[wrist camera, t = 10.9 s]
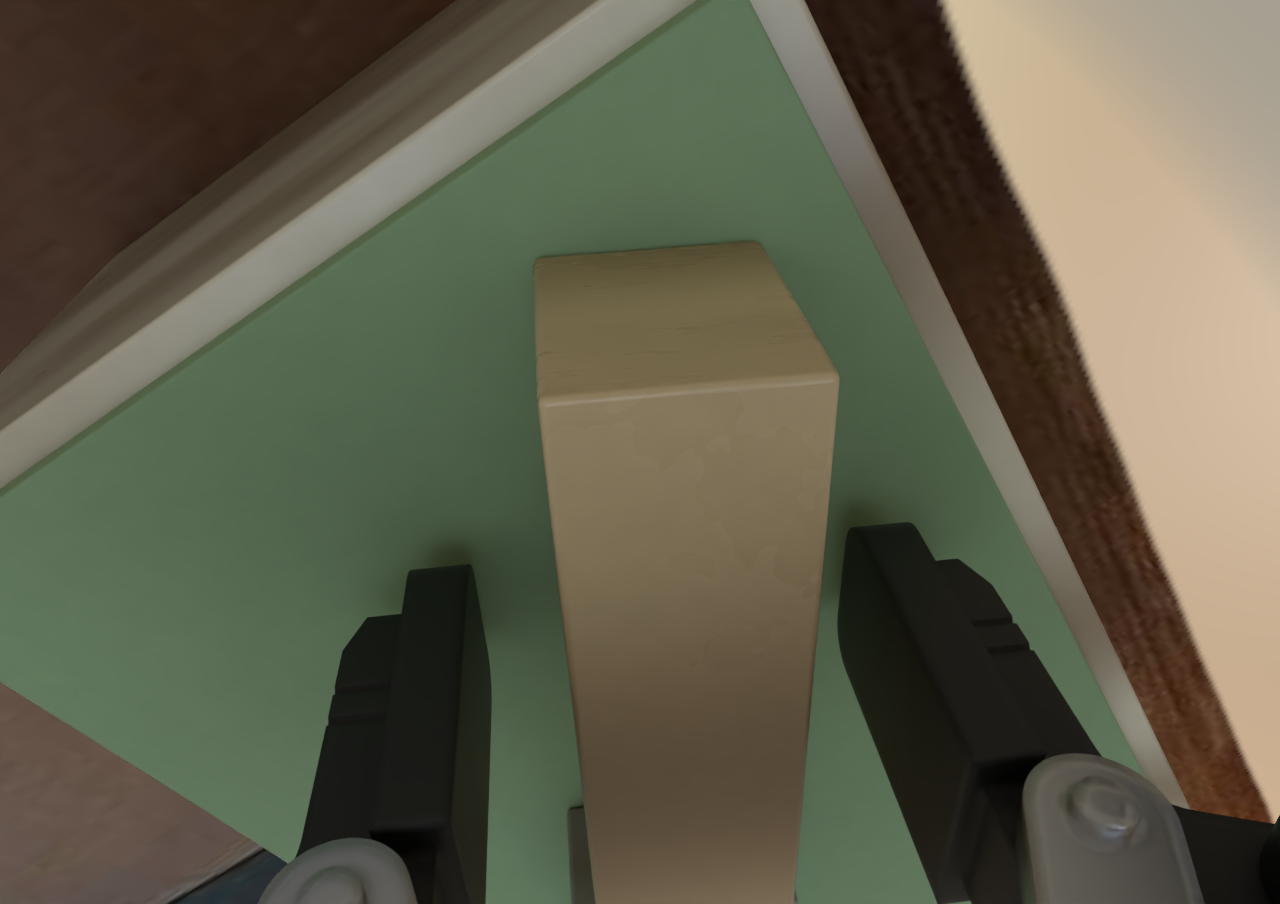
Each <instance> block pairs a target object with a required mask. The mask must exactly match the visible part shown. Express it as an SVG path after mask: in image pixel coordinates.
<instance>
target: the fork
mask: <svg viewBox="0 0 1280 904" xmlns="http://www.w3.org/2000/svg"><path fill="white" fill-rule="evenodd" d="M533 286H534V318H535V350H536V383H537V407H538V416H539V424H540V433H541V442H542V450H543V459H544V467H545V476H546V485H547V493H548V502H549V510H550V519H551V528H552V536H553V545H554V553H555V562H556V571H557V579H558V588H559V596H560V605H561V614H562V622H563V631H564V639H565V648H566V657H567V665H568V674H569V682H570V691H571V700H572V708H573V717H574V725H575V734H576V742H577V751H578V760H579V768H580V777H581V785H582V794H583V803H584V807H581V808H572V809H569V810H568V812H567V832H568V853H569V874H570V894H571V904H798V897H797V893H796V890H795V883H796V871H797V860H798V849H799V837H800V826H801V815H802V803H803V792H804V780H805V769H806V758H807V746H808V735H809V724H810V712H811V701H812V690H813V678H814V667H815V655H816V644H817V633H818V621H819V610H820V599H821V587H822V576H823V564H824V553H825V542H826V530H827V519H828V508H829V496H830V485H831V473H832V462H833V451H834V439H835V428H836V417H837V405H838V394H839V382H840V377H839V374H838V372H837V370H836V368H835V367H834V365H833V363H832V362H831V360H830V358H829V356H828V355H827V353H826V351H825V350H824V348H823V346H822V345H821V343H820V341H819V340H818V338H817V336H816V335H815V333H814V331H813V330H812V328H811V326H810V325H809V323H808V321H807V320H806V318H805V316H804V315H803V313H802V311H801V310H800V308H799V306H798V305H797V303H796V301H795V300H794V298H793V296H792V294H791V293H790V291H789V289H788V288H787V286H786V284H785V283H784V281H783V279H782V278H781V276H780V274H779V273H778V271H777V269H776V268H775V266H774V264H773V263H772V261H771V259H770V258H769V256H768V254H767V253H766V251H765V249H764V248H763V246H762V244H761V243H759V242H756V241H750V242H738V243H725V244H712V245H699V246H686V247H674V248H661V249H648V250H635V251H622V252H610V253H597V254H584V255H571V256H558V257H545V258H539V259H536V260H535V261H534V264H533Z"/></svg>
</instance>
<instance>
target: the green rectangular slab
mask: <svg viewBox="0 0 1280 904" xmlns="http://www.w3.org/2000/svg"><path fill="white" fill-rule="evenodd" d="M750 241H756V242H759V243H761V244H762V246H763V248H764V249H765V251H766V253H767V254H768V256H769V258H770V259H771V261H772V263H773V264H774V266H775V268H776V269H777V271H778V273H779V274H780V276H781V278H782V279H783V281H784V283H785V284H786V286H787V288H788V289H789V291H790V293H791V294H792V296H793V298H794V300H795V301H796V303H797V305H798V306H799V308H800V310H801V311H802V313H803V315H804V316H805V318H806V320H807V321H808V323H809V325H810V326H811V328H812V330H813V331H814V333H815V335H816V336H817V338H818V340H819V341H820V343H821V345H822V346H823V348H824V350H825V351H826V353H827V355H828V356H829V358H830V360H831V362H832V363H833V365H834V367H835V368H836V370H837V372H838V374H839V377H840V382H839V394H838V405H837V417H836V428H835V439H834V451H833V462H832V473H831V485H830V496H829V508H828V519H827V530H826V542H825V553H824V564H823V576H822V587H821V599H820V610H819V621H818V633H817V644H816V655H815V667H814V678H813V690H812V701H811V712H810V724H809V735H808V746H807V758H806V769H805V780H804V792H803V803H802V815H801V826H800V837H799V849H798V860H797V871H796V883H795V890H796V893H797V897H798V904H937V901H936V899H935V896H934V894H933V891H932V889H931V886H930V884H929V881H928V879H927V876H926V873H925V871H924V868H923V866H922V863H921V861H920V858H919V856H918V853H917V851H916V848H915V845H914V843H913V840H912V838H911V835H910V833H909V830H908V828H907V825H906V823H905V820H904V817H903V815H902V812H901V810H900V807H899V805H898V802H897V800H896V797H895V795H894V792H893V789H892V787H891V784H890V782H889V779H888V777H887V774H886V772H885V769H884V767H883V764H882V761H881V759H880V756H879V754H878V751H877V749H876V746H875V744H874V741H873V739H872V736H871V733H870V731H869V728H868V726H867V723H866V721H865V718H864V716H863V713H862V711H861V708H860V705H859V703H858V700H857V698H856V695H855V693H854V690H853V688H852V685H851V683H850V680H849V678H848V675H847V672H846V670H845V667H844V664H843V661H842V657H841V652H840V647H839V640H838V629H837V618H838V607H839V598H840V588H841V579H842V569H843V560H844V550H845V541H846V536H847V533H848V531H849V529H850V528H852V527H861V526H871V525H881V524H891V523H902V522H911V523H912V524H914V526H915V527H916V528H917V529H918V531H919V533H920V534H921V536H922V538H923V540H924V541H925V543H926V545H927V547H928V548H929V550H930V552H931V554H932V555H933V557H934V559H935V560H936V561H937V560H947V559H957V558H958V559H960V560H961V561H962V562H963V563H965V564H966V565H967V566H969V567H970V568H971V569H973V570H974V571H975V572H976V573H978V574H979V575H980V576H982V577H983V578H984V579H986V580H987V581H988V582H989V583H991V584H992V585H993V587H994V588H995V590H996V591H997V593H998V594H999V596H1000V598H1001V599H1002V601H1003V602H1004V604H1005V606H1006V607H1007V609H1008V610H1009V612H1010V613H1011V615H1012V617H1013V623H1017V624H1018V626H1019V628H1020V629H1021V631H1022V632H1023V634H1024V635H1025V637H1026V639H1027V640H1028V642H1029V647H1030V650H1034V651H1035V653H1036V654H1037V656H1038V657H1039V659H1040V661H1041V662H1042V664H1043V665H1044V667H1045V669H1046V670H1047V672H1048V673H1049V675H1050V676H1051V678H1052V680H1053V681H1054V683H1055V684H1056V686H1057V687H1058V689H1059V691H1060V692H1061V694H1062V695H1063V697H1064V698H1065V700H1066V702H1067V703H1068V705H1069V706H1070V708H1071V709H1072V711H1073V713H1074V714H1075V716H1076V717H1077V719H1078V720H1079V722H1080V724H1081V725H1082V727H1083V728H1084V730H1085V732H1086V733H1087V735H1088V736H1089V738H1090V739H1091V741H1092V743H1093V744H1094V746H1095V747H1096V749H1097V750H1098V752H1099V753H1100V754H1101V756H1102V757H1104V758H1107V759H1110V760H1113V761H1116V762H1118V763H1120V764H1122V765H1125V766H1127V767H1129V768H1130V769H1132V770H1134V771H1135V772H1137V773H1139V774H1140V775H1142V776H1143V777H1144V778H1146V777H1145V775H1144V773H1143V771H1142V769H1141V768H1140V766H1139V764H1138V762H1137V760H1136V758H1135V756H1134V754H1133V752H1132V750H1131V748H1130V746H1129V744H1128V742H1127V740H1126V738H1125V736H1124V734H1123V732H1122V730H1121V728H1120V726H1119V724H1118V722H1117V720H1116V718H1115V716H1114V715H1113V713H1112V711H1111V709H1110V707H1109V705H1108V703H1107V701H1106V699H1105V697H1104V695H1103V693H1102V691H1101V689H1100V687H1099V685H1098V683H1097V681H1096V679H1095V677H1094V675H1093V673H1092V671H1091V669H1090V667H1089V665H1088V663H1087V661H1086V660H1085V658H1084V656H1083V654H1082V652H1081V650H1080V648H1079V646H1078V644H1077V642H1076V640H1075V638H1074V636H1073V634H1072V632H1071V630H1070V628H1069V626H1068V624H1067V622H1066V620H1065V618H1064V616H1063V614H1062V612H1061V610H1060V608H1059V607H1058V605H1057V603H1056V601H1055V599H1054V597H1053V595H1052V593H1051V591H1050V589H1049V587H1048V585H1047V583H1046V581H1045V579H1044V577H1043V575H1042V573H1041V571H1040V569H1039V567H1038V565H1037V563H1036V561H1035V559H1034V557H1033V555H1032V554H1031V552H1030V550H1029V548H1028V546H1027V544H1026V542H1025V540H1024V538H1023V536H1022V534H1021V532H1020V530H1019V528H1018V526H1017V524H1016V522H1015V520H1014V518H1013V516H1012V514H1011V512H1010V510H1009V508H1008V506H1007V504H1006V502H1005V501H1004V499H1003V497H1002V495H1001V493H1000V491H999V489H998V487H997V485H996V483H995V481H994V479H993V477H992V475H991V473H990V471H989V469H988V467H987V465H986V463H985V461H984V459H983V457H982V455H981V453H980V451H979V449H978V447H977V446H976V444H975V442H974V440H973V438H972V436H971V434H970V432H969V430H968V428H967V426H966V424H965V422H964V420H963V418H962V416H961V414H960V412H959V410H958V408H957V406H956V404H955V402H954V400H953V398H952V396H951V394H950V393H949V391H948V389H947V387H946V385H945V383H944V381H943V379H942V377H941V375H940V373H939V371H938V369H937V367H936V365H935V363H934V361H933V359H932V357H931V355H930V353H929V351H928V349H927V347H926V345H925V343H924V341H923V340H922V338H921V336H920V334H919V332H918V330H917V328H916V326H915V324H914V322H913V320H912V318H911V316H910V314H909V312H908V310H907V308H906V306H905V304H904V302H903V300H902V298H901V296H900V294H899V292H898V290H897V288H896V287H895V285H894V283H893V281H892V279H891V277H890V275H889V273H888V271H887V269H886V267H885V265H884V263H883V261H882V259H881V257H880V255H879V253H878V251H877V249H876V247H875V245H874V243H873V241H872V239H871V237H870V235H869V233H868V232H867V230H866V228H865V226H864V224H863V222H862V220H861V218H860V216H859V214H858V212H857V210H856V208H855V206H854V204H853V202H852V200H851V198H850V196H849V194H848V192H847V190H846V188H845V186H844V184H843V182H842V180H841V179H840V177H839V175H838V173H837V171H836V169H835V167H834V165H833V163H832V161H831V159H830V157H829V155H828V153H827V151H826V149H825V147H824V145H823V143H822V141H821V139H820V137H819V135H818V133H817V131H816V129H815V127H814V126H813V124H812V122H811V120H810V118H809V116H808V114H807V112H806V110H805V108H804V106H803V104H802V102H801V100H800V98H799V96H798V94H797V92H796V90H795V88H794V86H793V84H792V82H791V80H790V78H789V76H788V74H787V72H786V71H785V69H784V67H783V65H782V63H781V61H780V59H779V57H778V55H777V53H776V51H775V49H774V47H773V45H772V43H771V41H770V39H769V37H768V35H767V33H766V31H765V29H764V27H763V25H762V23H761V21H760V19H759V18H758V16H757V14H756V12H755V10H754V8H753V6H752V4H751V2H750V0H697V1H695V2H694V3H692V4H691V5H689V6H688V7H687V8H685V9H684V10H682V11H681V12H679V13H678V14H677V15H675V16H674V17H672V18H671V19H669V20H668V21H667V22H665V23H664V24H662V25H661V26H660V27H658V28H657V29H655V30H654V31H652V32H651V33H650V34H648V35H647V36H645V37H644V38H642V39H641V40H640V41H638V42H637V43H635V44H634V45H632V46H631V47H630V48H628V49H627V50H625V51H624V52H622V53H621V54H620V55H618V56H617V57H615V58H614V59H612V60H611V61H610V62H608V63H607V64H605V65H604V66H602V67H601V68H600V69H598V70H597V71H595V72H594V73H592V74H591V75H590V76H588V77H587V78H585V79H584V80H583V81H581V82H580V83H578V84H577V85H575V86H574V87H573V88H571V89H570V90H568V91H567V92H565V93H564V94H563V95H561V96H560V97H558V98H557V99H555V100H554V101H553V102H551V103H550V104H548V105H547V106H545V107H544V108H543V109H541V110H540V111H538V112H537V113H535V114H534V115H533V116H531V117H530V118H528V119H527V120H525V121H524V122H523V123H521V124H520V125H518V126H517V127H516V128H514V129H513V130H511V131H510V132H508V133H507V134H506V135H504V136H503V137H501V138H500V139H498V140H497V141H496V142H494V143H493V144H491V145H490V146H488V147H487V148H486V149H484V150H483V151H481V152H480V153H478V154H477V155H476V156H474V157H473V158H471V159H470V160H468V161H467V162H466V163H464V164H463V165H461V166H460V167H458V168H457V169H456V170H454V171H453V172H451V173H450V174H449V175H447V176H446V177H444V178H443V179H441V180H440V181H439V182H437V183H436V184H434V185H433V186H431V187H430V188H429V189H427V190H426V191H424V192H423V193H421V194H420V195H419V196H417V197H416V198H414V199H413V200H411V201H410V202H409V203H407V204H406V205H404V206H403V207H401V208H400V209H399V210H397V211H396V212H394V213H393V214H391V215H390V216H389V217H387V218H386V219H384V220H383V221H382V222H380V223H379V224H377V225H376V226H374V227H373V228H372V229H370V230H369V231H367V232H366V233H364V234H363V235H362V236H360V237H359V238H357V239H356V240H354V241H353V242H352V243H350V244H349V245H347V246H346V247H344V248H343V249H342V250H340V251H339V252H337V253H336V254H334V255H333V256H332V257H330V258H329V259H327V260H326V261H324V262H323V263H322V264H320V265H319V266H317V267H316V268H314V269H313V270H312V271H310V272H309V273H307V274H306V275H305V276H303V277H302V278H300V279H299V280H297V281H296V282H295V283H293V284H292V285H290V286H289V287H287V288H286V289H285V290H283V291H282V292H280V293H279V294H277V295H276V296H275V297H273V298H272V299H270V300H269V301H267V302H266V303H265V304H263V305H262V306H260V307H259V308H257V309H256V310H255V311H253V312H252V313H250V314H249V315H247V316H246V317H245V318H243V319H242V320H240V321H239V322H238V323H236V324H235V325H233V326H232V327H230V328H229V329H228V330H226V331H225V332H223V333H222V334H220V335H219V336H218V337H216V338H215V339H213V340H212V341H210V342H209V343H208V344H206V345H205V346H203V347H202V348H200V349H199V350H198V351H196V352H195V353H193V354H192V355H190V356H189V357H188V358H186V359H185V360H183V361H182V362H180V363H179V364H178V365H176V366H175V367H173V368H172V369H171V370H169V371H168V372H166V373H165V374H163V375H162V376H161V377H159V378H158V379H156V380H155V381H153V382H152V383H151V384H149V385H148V386H146V387H145V388H143V389H142V390H141V391H139V392H138V393H136V394H135V395H133V396H132V397H131V398H129V399H128V400H126V401H125V402H123V403H122V404H121V405H119V406H118V407H116V408H115V409H113V410H112V411H111V412H109V413H108V414H106V415H105V416H104V417H102V418H101V419H99V420H98V421H96V422H95V423H94V424H92V425H91V426H89V427H88V428H86V429H85V430H84V431H82V432H81V433H79V434H78V435H76V436H75V437H74V438H72V439H71V440H69V441H68V442H66V443H65V444H64V445H62V446H61V447H59V448H58V449H56V450H55V451H54V452H52V453H51V454H49V455H48V456H46V457H45V458H44V459H42V460H41V461H39V462H38V463H37V464H35V465H34V466H32V467H31V468H29V469H28V470H27V471H25V472H24V473H22V474H21V475H19V476H18V477H17V478H15V479H14V480H12V481H11V482H9V483H8V484H7V485H5V486H4V487H2V488H1V489H0V682H2V683H4V684H5V685H7V686H8V687H10V688H12V689H13V690H15V691H16V692H18V693H19V694H21V695H23V696H24V697H26V698H27V699H29V700H31V701H32V702H34V703H35V704H37V705H39V706H40V707H42V708H43V709H45V710H46V711H48V712H50V713H51V714H53V715H54V716H56V717H58V718H59V719H61V720H62V721H64V722H66V723H67V724H69V725H70V726H72V727H74V728H75V729H77V730H78V731H80V732H81V733H83V734H85V735H86V736H88V737H89V738H91V739H93V740H94V741H96V742H97V743H99V744H101V745H102V746H104V747H105V748H107V749H108V750H110V751H112V752H113V753H115V754H116V755H118V756H120V757H121V758H123V759H124V760H126V761H128V762H129V763H131V764H132V765H134V766H135V767H137V768H139V769H140V770H142V771H143V772H145V773H147V774H148V775H150V776H151V777H153V778H155V779H156V780H158V781H159V782H161V783H162V784H164V785H166V786H167V787H169V788H170V789H172V790H174V791H175V792H177V793H178V794H180V795H182V796H183V797H185V798H186V799H188V800H189V801H191V802H193V803H194V804H196V805H197V806H199V807H201V808H202V809H204V810H205V811H207V812H209V813H210V814H212V815H213V816H215V817H216V818H218V819H220V820H221V821H223V822H224V823H226V824H228V825H229V826H231V827H232V828H234V829H236V830H237V831H239V832H240V833H242V834H244V835H245V836H247V837H248V838H250V839H251V840H253V841H255V842H256V843H258V844H259V845H261V846H263V847H264V848H266V849H267V850H269V851H271V852H272V853H274V854H275V855H277V856H278V857H280V858H282V859H283V860H285V861H286V862H288V863H290V862H291V861H292V860H293V859H295V857H296V854H297V852H298V849H299V846H300V842H301V839H302V834H303V830H304V825H305V820H306V816H307V811H308V807H309V802H310V797H311V793H312V788H313V784H314V779H315V775H316V770H317V765H318V761H319V756H320V752H321V747H322V742H323V738H324V733H325V729H326V726H328V715H329V710H330V706H331V701H332V696H333V695H335V688H334V687H335V683H336V678H337V674H338V669H339V664H340V660H341V655H342V651H343V649H344V648H345V647H346V645H347V644H348V643H349V641H350V640H351V639H352V637H353V636H354V635H355V633H356V632H357V630H358V629H359V628H360V626H361V625H362V624H363V622H364V621H365V620H366V618H367V617H375V616H385V615H395V614H401V613H402V607H403V600H404V593H405V587H406V580H407V575H408V572H409V571H410V570H413V569H424V568H434V567H444V566H454V565H464V564H471V566H472V568H473V571H474V576H475V581H476V587H477V593H478V598H479V604H480V609H481V615H482V621H483V626H484V632H485V638H486V643H487V649H488V655H489V663H490V673H491V688H492V715H491V747H490V778H489V810H488V842H487V873H486V904H571V894H570V874H569V853H568V832H567V812H568V810H569V809H572V808H581V807H584V803H583V794H582V785H581V777H580V768H579V760H578V751H577V742H576V734H575V725H574V717H573V708H572V700H571V691H570V682H569V674H568V665H567V657H566V648H565V639H564V631H563V622H562V614H561V605H560V596H559V588H558V579H557V571H556V562H555V553H554V545H553V536H552V528H551V519H550V510H549V502H548V493H547V485H546V476H545V467H544V459H543V450H542V442H541V433H540V424H539V416H538V407H537V383H536V350H535V318H534V286H533V264H534V261H535V260H536V259H539V258H545V257H558V256H571V255H584V254H597V253H610V252H622V251H635V250H648V249H661V248H674V247H686V246H699V245H712V244H725V243H738V242H750ZM949 904H971V901H964V902H957V903H949Z"/></svg>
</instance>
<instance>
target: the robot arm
mask: <svg viewBox="0 0 1280 904" xmlns="http://www.w3.org/2000/svg"><path fill="white" fill-rule="evenodd" d="M837 629H838V640H839V647H840V652H841V657H842V661H843V664H844V667H845V670H846V672H847V675H848V678H849V680H850V683H851V685H852V688H853V690H854V693H855V695H856V698H857V700H858V703H859V705H860V708H861V711H862V713H863V716H864V718H865V721H866V723H867V726H868V728H869V731H870V733H871V736H872V739H873V741H874V744H875V746H876V749H877V751H878V754H879V756H880V759H881V761H882V764H883V767H884V769H885V772H886V774H887V777H888V779H889V782H890V784H891V787H892V789H893V792H894V795H895V797H896V800H897V802H898V805H899V807H900V810H901V812H902V815H903V817H904V820H905V823H906V825H907V828H908V830H909V833H910V835H911V838H912V840H913V843H914V845H915V848H916V851H917V853H918V856H919V858H920V861H921V863H922V866H923V868H924V871H925V873H926V876H927V879H928V881H929V884H930V886H931V889H932V891H933V894H934V896H935V899H936V901H937V904H949V903H957V902H964V901H971V904H1280V816H1279V817H1278V819H1277V821H1276V823H1275V824H1271V823H1265V822H1259V821H1253V820H1247V819H1241V818H1235V817H1229V816H1223V815H1217V814H1211V813H1205V812H1199V811H1195V810H1190V809H1186V808H1182V807H1179V806H1176V805H1173V804H1171V803H1170V802H1169V801H1168V799H1167V798H1166V797H1165V796H1164V795H1163V793H1162V792H1161V791H1160V790H1159V789H1158V788H1157V787H1155V786H1154V785H1153V784H1152V783H1151V782H1150V781H1148V780H1147V779H1146V778H1144V777H1143V776H1142V775H1140V774H1139V773H1137V772H1135V771H1134V770H1132V769H1130V768H1129V767H1127V766H1125V765H1122V764H1120V763H1118V762H1116V761H1113V760H1110V759H1107V758H1104V757H1102V756H1101V754H1100V753H1099V752H1098V750H1097V749H1096V747H1095V746H1094V744H1093V743H1092V741H1091V739H1090V738H1089V736H1088V735H1087V733H1086V732H1085V730H1084V728H1083V727H1082V725H1081V724H1080V722H1079V720H1078V719H1077V717H1076V716H1075V714H1074V713H1073V711H1072V709H1071V708H1070V706H1069V705H1068V703H1067V702H1066V700H1065V698H1064V697H1063V695H1062V694H1061V692H1060V691H1059V689H1058V687H1057V686H1056V684H1055V683H1054V681H1053V680H1052V678H1051V676H1050V675H1049V673H1048V672H1047V670H1046V669H1045V667H1044V665H1043V664H1042V662H1041V661H1040V659H1039V657H1038V656H1037V654H1036V653H1035V651H1034V650H1030V647H1029V642H1028V640H1027V639H1026V637H1025V635H1024V634H1023V632H1022V631H1021V629H1020V628H1019V626H1018V624H1017V623H1013V617H1012V615H1011V613H1010V612H1009V610H1008V609H1007V607H1006V606H1005V604H1004V602H1003V601H1002V599H1001V598H1000V596H999V594H998V593H997V591H996V590H995V588H994V587H993V585H992V584H991V583H989V582H988V581H987V580H986V579H984V578H983V577H982V576H980V575H979V574H978V573H976V572H975V571H974V570H973V569H971V568H970V567H969V566H967V565H966V564H965V563H963V562H962V561H961V560H960V559H958V558H957V559H947V560H937V561H936V560H935V559H934V557H933V555H932V554H931V552H930V550H929V548H928V547H927V545H926V543H925V541H924V540H923V538H922V536H921V534H920V533H919V531H918V529H917V528H916V527H915V526H914V524H912V523H911V522H902V523H891V524H881V525H871V526H861V527H852V528H850V529H849V531H848V533H847V536H846V541H845V550H844V560H843V569H842V579H841V588H840V598H839V607H838V618H837ZM334 688H335V695H333V696H332V701H331V706H330V710H329V715H328V726H326V729H325V733H324V738H323V742H322V747H321V752H320V756H319V761H318V765H317V770H316V775H315V779H314V784H313V788H312V793H311V797H310V802H309V807H308V811H307V816H306V820H305V825H304V830H303V834H302V839H301V842H300V846H299V849H298V852H297V854H296V857H295V859H293V860H292V861H291V862H290V863H288V864H287V865H286V866H285V867H284V868H283V869H282V870H281V871H280V872H279V873H278V874H277V875H276V876H275V877H274V878H273V879H272V881H271V882H270V883H269V885H268V886H267V888H266V889H265V890H264V892H263V894H262V896H261V898H260V900H259V901H258V904H486V873H487V842H488V810H489V778H490V747H491V715H492V688H491V673H490V663H489V655H488V649H487V643H486V638H485V632H484V626H483V621H482V615H481V609H480V604H479V598H478V593H477V587H476V581H475V576H474V571H473V568H472V566H471V564H464V565H454V566H444V567H434V568H424V569H413V570H410V571H409V572H408V575H407V580H406V587H405V593H404V600H403V607H402V613H401V614H395V615H385V616H375V617H367V618H366V620H365V621H364V622H363V624H362V625H361V626H360V628H359V629H358V630H357V632H356V633H355V635H354V636H353V637H352V639H351V640H350V641H349V643H348V644H347V645H346V647H345V648H344V649H343V651H342V655H341V660H340V664H339V669H338V674H337V678H336V683H335V687H334Z"/></svg>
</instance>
